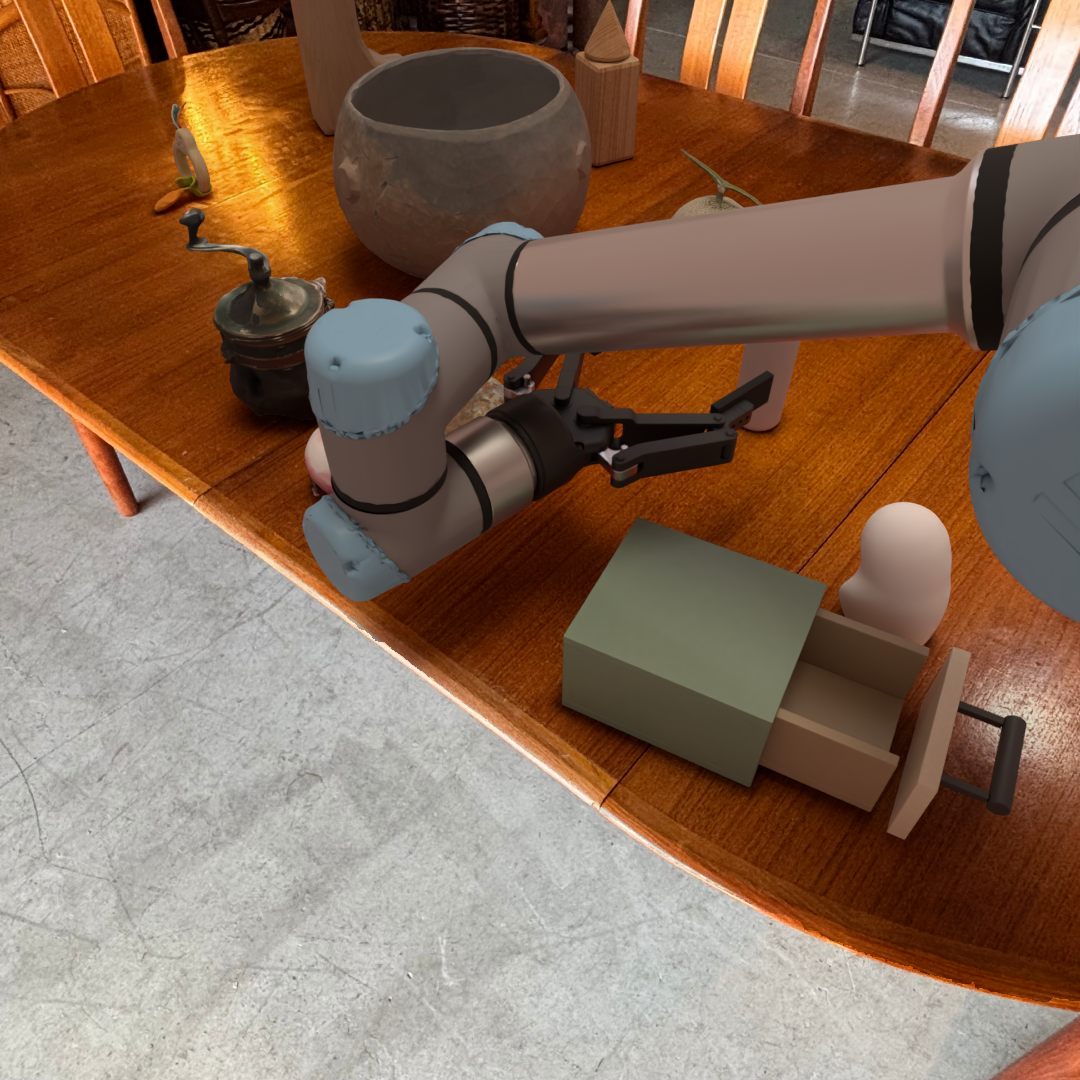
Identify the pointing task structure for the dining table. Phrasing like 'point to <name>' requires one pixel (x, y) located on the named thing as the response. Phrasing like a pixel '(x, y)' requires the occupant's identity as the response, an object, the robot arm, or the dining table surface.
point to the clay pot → (458, 152)
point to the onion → (318, 464)
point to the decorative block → (331, 55)
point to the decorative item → (608, 90)
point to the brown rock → (479, 404)
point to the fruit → (712, 202)
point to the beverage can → (781, 364)
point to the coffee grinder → (265, 330)
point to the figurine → (901, 573)
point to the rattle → (186, 165)
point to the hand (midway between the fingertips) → (704, 347)
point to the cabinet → (689, 647)
